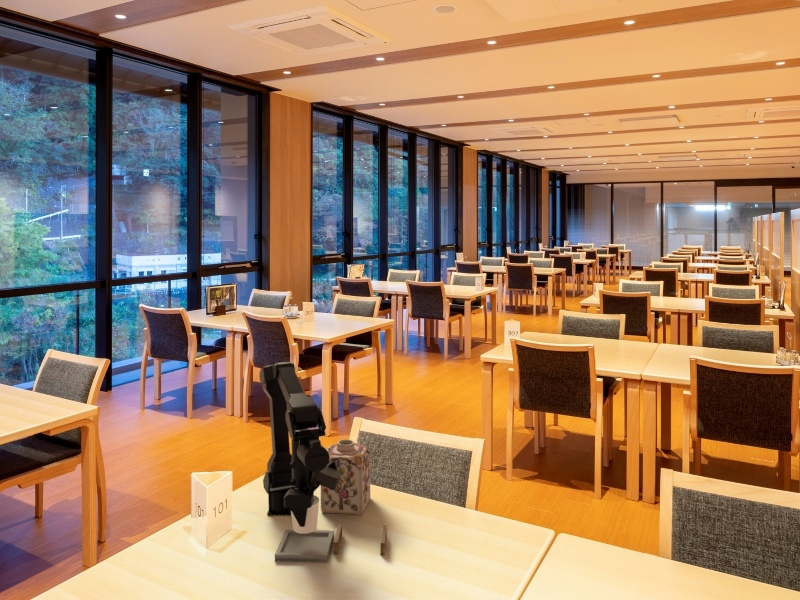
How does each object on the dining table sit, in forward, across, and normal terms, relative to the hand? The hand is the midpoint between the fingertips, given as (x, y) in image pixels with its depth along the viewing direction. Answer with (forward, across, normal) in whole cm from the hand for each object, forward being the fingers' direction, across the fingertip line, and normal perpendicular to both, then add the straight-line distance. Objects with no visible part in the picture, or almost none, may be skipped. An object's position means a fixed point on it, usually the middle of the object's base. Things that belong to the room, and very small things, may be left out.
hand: (304, 519), depth 154 cm
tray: (+7, 0, 0) cm, 7 cm away
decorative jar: (+8, +24, -7) cm, 26 cm away
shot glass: (+2, 0, 0) cm, 2 cm away
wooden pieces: (+7, +2, -13) cm, 15 cm away
